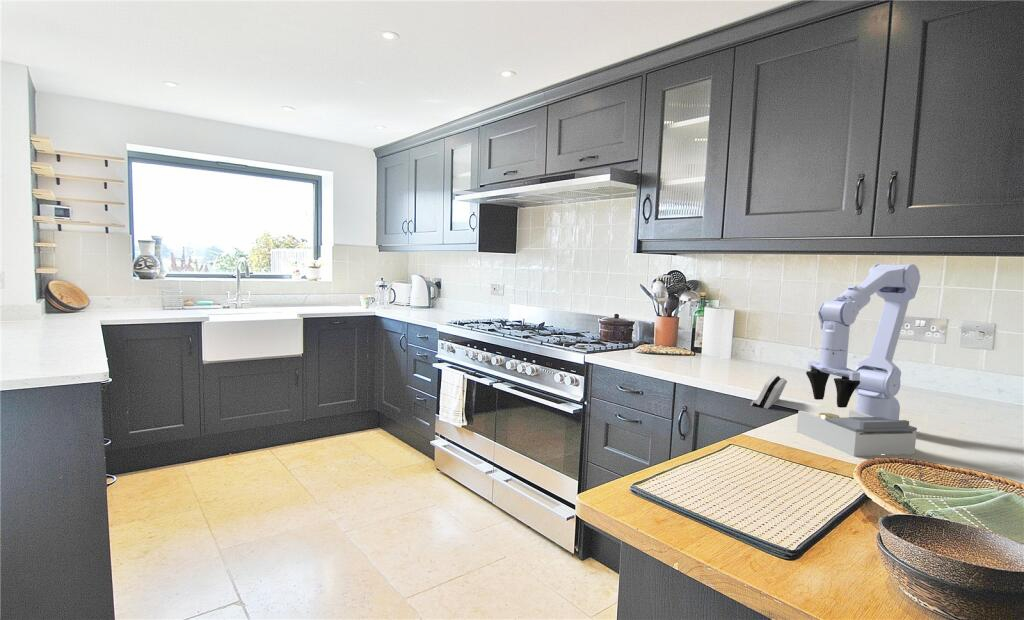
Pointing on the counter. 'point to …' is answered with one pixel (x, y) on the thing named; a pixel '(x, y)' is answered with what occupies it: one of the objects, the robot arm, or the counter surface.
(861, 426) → the lid
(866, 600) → the counter surface
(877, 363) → the robot arm
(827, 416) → the gold small block
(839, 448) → the box
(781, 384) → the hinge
